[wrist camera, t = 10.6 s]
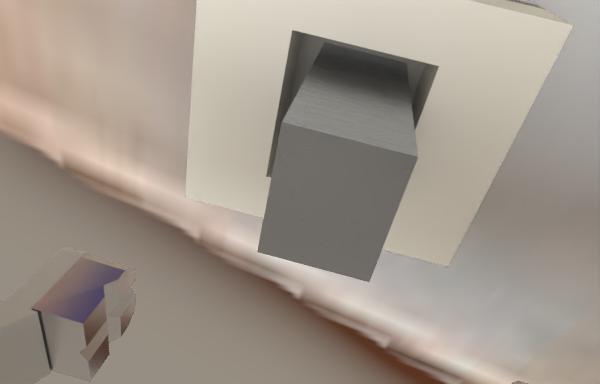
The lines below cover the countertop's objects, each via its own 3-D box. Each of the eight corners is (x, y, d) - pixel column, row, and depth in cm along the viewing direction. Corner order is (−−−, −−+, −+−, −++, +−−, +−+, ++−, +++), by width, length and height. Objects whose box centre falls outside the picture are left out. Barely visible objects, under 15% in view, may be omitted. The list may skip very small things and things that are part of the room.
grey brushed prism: (406, 62, 21) (418, 156, 12) (375, 153, 23) (369, 281, 15) (324, 42, 21) (281, 121, 12) (304, 135, 24) (257, 251, 15)
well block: (537, 5, 19) (573, 25, 16) (439, 217, 26) (448, 267, 22) (236, -67, 20) (200, -64, 16) (213, 158, 27) (184, 197, 23)
